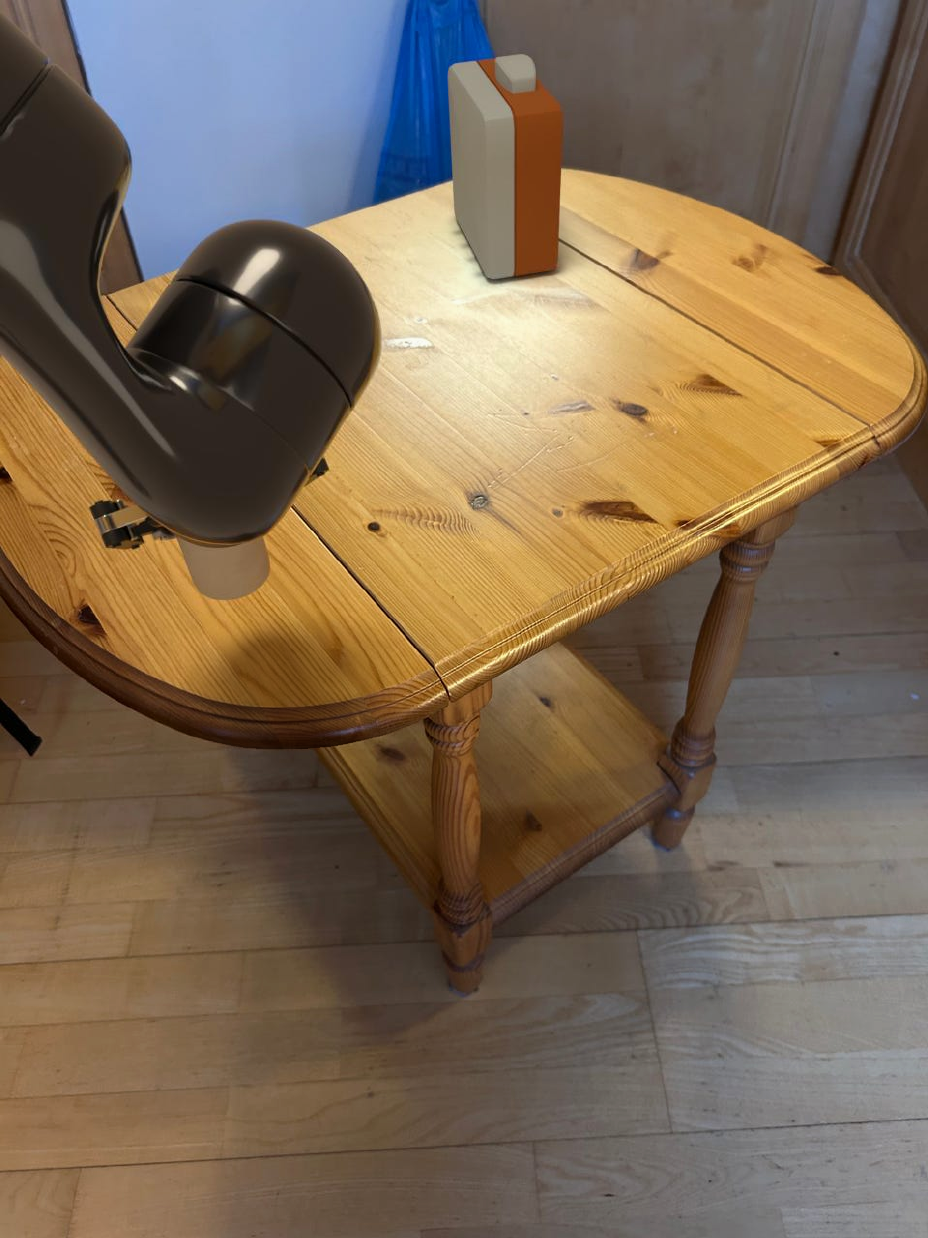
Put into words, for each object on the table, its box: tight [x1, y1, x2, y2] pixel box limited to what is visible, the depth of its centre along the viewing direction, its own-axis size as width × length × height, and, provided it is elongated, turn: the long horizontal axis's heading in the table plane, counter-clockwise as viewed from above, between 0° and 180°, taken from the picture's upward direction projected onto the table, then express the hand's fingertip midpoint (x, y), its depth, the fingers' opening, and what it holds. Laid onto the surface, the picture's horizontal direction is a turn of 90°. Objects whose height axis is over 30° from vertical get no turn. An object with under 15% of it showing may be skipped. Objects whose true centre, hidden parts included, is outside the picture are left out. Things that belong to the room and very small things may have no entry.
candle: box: [176, 536, 271, 601], centre depth 60 cm, size 6×6×10 cm
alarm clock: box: [447, 53, 564, 280], centre depth 105 cm, size 18×9×21 cm, turn 13°
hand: (208, 508), depth 62 cm, fingers closed on candle, 5 cm apart
